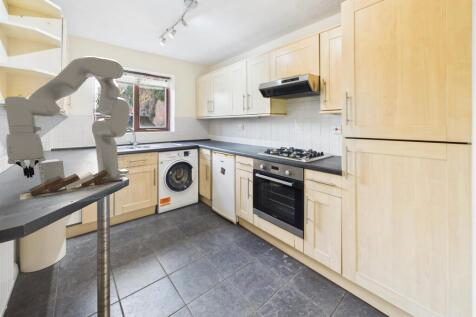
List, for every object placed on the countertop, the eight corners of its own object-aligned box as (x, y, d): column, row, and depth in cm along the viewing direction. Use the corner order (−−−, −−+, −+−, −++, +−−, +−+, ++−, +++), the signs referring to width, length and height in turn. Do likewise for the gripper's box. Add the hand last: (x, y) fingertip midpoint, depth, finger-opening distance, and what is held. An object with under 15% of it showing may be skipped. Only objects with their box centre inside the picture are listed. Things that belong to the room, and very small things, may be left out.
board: (94, 184, 108) (94, 182, 108) (99, 188, 102) (99, 185, 102) (19, 197, 89) (19, 194, 89) (20, 202, 83) (20, 199, 83)
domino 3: (81, 185, 103) (105, 173, 109) (84, 187, 99) (109, 174, 106) (79, 181, 102) (103, 169, 109) (82, 183, 98) (107, 171, 105)
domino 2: (65, 188, 98) (91, 175, 105) (67, 190, 95) (94, 177, 101) (62, 184, 97) (89, 172, 104) (64, 186, 94) (92, 173, 101)
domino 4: (94, 183, 106) (118, 181, 114) (97, 185, 103) (122, 183, 111) (94, 179, 106) (119, 177, 114) (97, 180, 102) (122, 179, 110)
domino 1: (49, 190, 94) (77, 177, 101) (51, 193, 91) (80, 179, 97) (46, 186, 94) (74, 173, 100) (48, 189, 90) (77, 175, 97)
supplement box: (60, 184, 108) (57, 158, 106) (66, 186, 104) (63, 160, 102) (41, 188, 102) (37, 160, 100) (46, 190, 98) (42, 162, 96)
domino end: (31, 193, 90) (62, 179, 97) (32, 196, 87) (64, 181, 94) (28, 189, 90) (59, 175, 96) (29, 192, 86) (61, 177, 93)
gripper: (47, 129, 93) (52, 173, 95) (-6, 130, 82) (2, 179, 85) (49, 130, 88) (55, 175, 90) (-7, 130, 77) (2, 182, 80)
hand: (29, 177), depth 88 cm, fingers closed
